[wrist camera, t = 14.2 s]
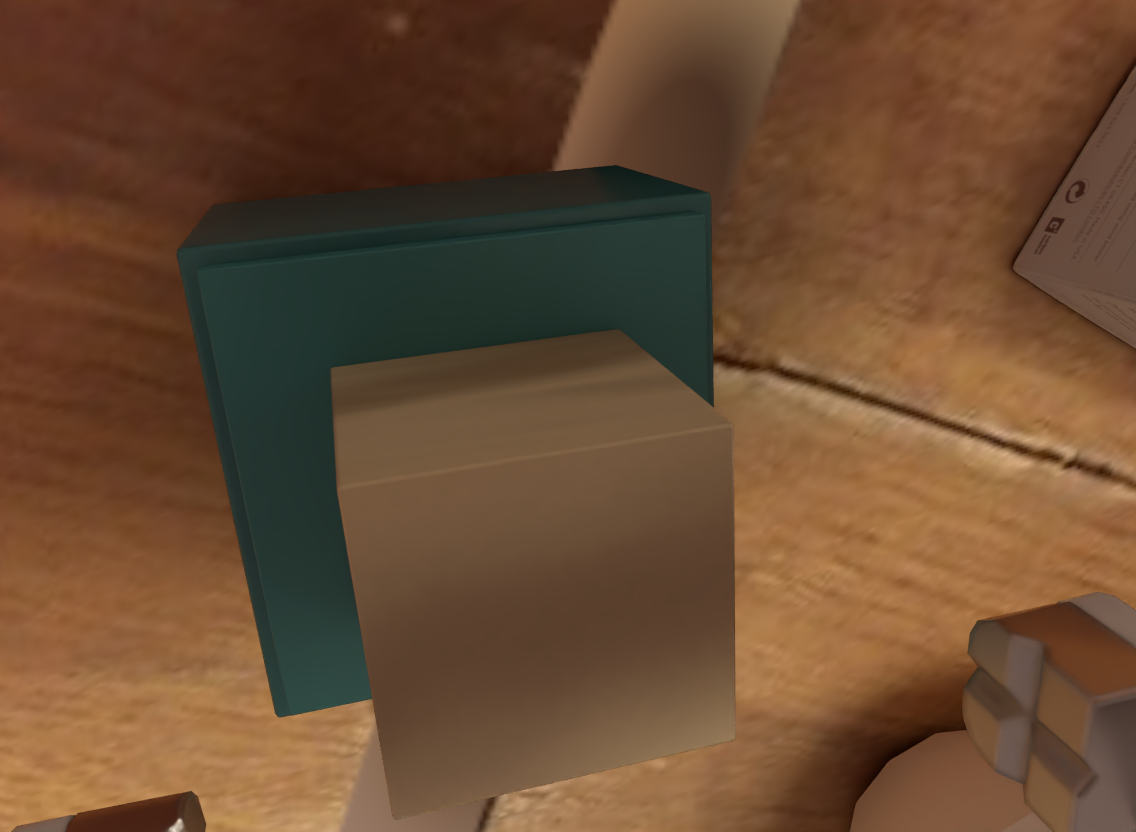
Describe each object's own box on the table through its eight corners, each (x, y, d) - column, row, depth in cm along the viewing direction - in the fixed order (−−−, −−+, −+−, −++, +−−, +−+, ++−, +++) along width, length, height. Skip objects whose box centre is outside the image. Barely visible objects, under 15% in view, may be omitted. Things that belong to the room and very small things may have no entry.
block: (329, 366, 16) (336, 488, 11) (619, 327, 17) (735, 423, 12) (372, 625, 17) (392, 822, 13) (631, 575, 18) (736, 741, 14)
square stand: (209, 204, 20) (170, 253, 14) (618, 164, 22) (722, 194, 16) (284, 577, 23) (275, 734, 18) (635, 514, 25) (725, 638, 19)
